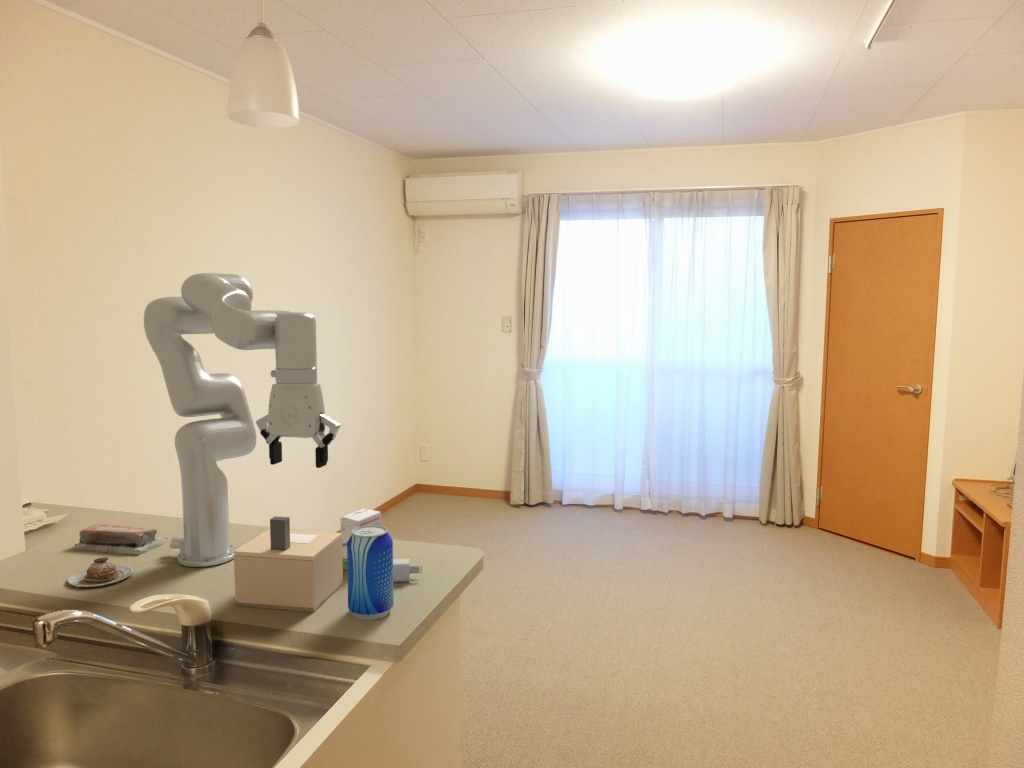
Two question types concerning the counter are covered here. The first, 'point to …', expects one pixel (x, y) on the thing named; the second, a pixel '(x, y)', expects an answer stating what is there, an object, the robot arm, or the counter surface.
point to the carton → (288, 580)
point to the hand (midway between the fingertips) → (298, 464)
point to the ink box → (353, 522)
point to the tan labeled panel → (288, 542)
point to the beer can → (370, 572)
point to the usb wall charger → (403, 570)
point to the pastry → (100, 573)
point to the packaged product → (118, 539)
